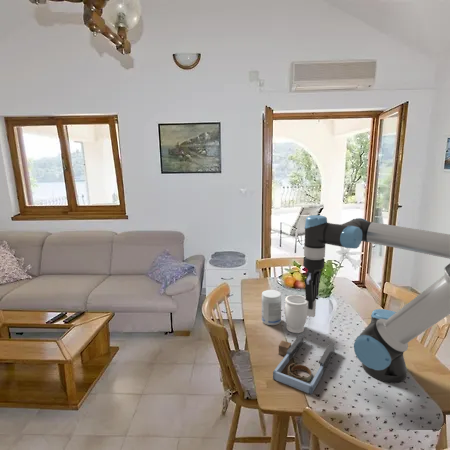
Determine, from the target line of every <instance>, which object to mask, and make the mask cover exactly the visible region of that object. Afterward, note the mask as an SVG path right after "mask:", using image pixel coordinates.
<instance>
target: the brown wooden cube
mask: <svg viewBox="0 0 450 450" xmlns="http://www.w3.org/2000/svg"><path fill="white" fill-rule="evenodd" d="M291 345H292V343H291V342H289V341H286V340H281V341H280V343H279V345H278V355H281V356H284V357H285V356H286V354H287V350H288V349H289V348H290V347H291Z"/></svg>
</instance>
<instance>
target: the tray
mask: <svg viewBox="0 0 450 450" xmlns="http://www.w3.org/2000/svg"><path fill="white" fill-rule="evenodd" d="M288 363H290V361H289V354H286V356H284V357H283V359H281V360H280V362H279V363H278V364H277V366H276V367H275V369H273V372H272V380H275V381H277V382H279V383H282V384H284V385H287V386H289V387H292V388H294V389H297V390H300V391H301V392H304V393H306V394H310V395H313V393H314V391H315V389H316V387H317V386H318V384H319V382H320V380H321V378H322V376H323V375H324V372H323V366H320V365H319V368H318V369H317V371H316V373H315V375H314V376H313V378H312V380H311V382H310V383H309V382H303V381H301V380H298V379H296V378H293V377H290V376H288V374H284V373H282V372H283V370H284V369H285V368H286V366H287V365H288Z"/></svg>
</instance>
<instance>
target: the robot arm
mask: <svg viewBox="0 0 450 450" xmlns="http://www.w3.org/2000/svg"><path fill="white" fill-rule="evenodd" d="M362 242H365V243H369V244H375V245H379V246H386V247H391V248H393V249H394V248H395V249H400V250H404V251H410V252H415V253H419V254H424V255H429V256H435V257H440V258H445V259H449V260H450V234H449V233H444V232H437V231H429V230H424V229H418V228H413V227H406V226H400V225H399V226H398V225H393V224H385V223H380V222H374V221H368V220H366V219H365V218H363V217H362V218H361V217H357V218H353V219H351V220H349V221H346V222H344V223H342V224H338V223H331V222H328V219H327V217H326V216H325V215H320V214H313V215H312V214H311V215H307V216H306V217H305V225H304V245H303V247H302V250H303V256H304V257H303V267H304V268H305V269H306V270H307V272H306V274H305V275H306V276H305V277H306V278H304V280H303V282H304V289H305V291H304V292H305V298H306V299H305V300H306V301H308V303H307V317H311V318H314V317H315V316H316V308H317V307H316V305H317V300H319V292H320V291H319V290H320V281H321V276H322V275H321V274H322V270H324V269H325V257H326V245H331V246H336V247H341V248H345V249H353V250H354V249H358V248H359V247H360V246H361V244H362ZM443 269H444V270H443V271H444V275H443V276H441V277H440V278H439V279H438V280H436V281H435V282H433V284H431V285H429V286H428V287H427V288H426V289H425V290H423V292H420V293H419V294H418V295H417V296H416V297H415V298H413V299H412V300H411V301H409V302H408V303H406V304H405V305H404V306H403V307H402V308H400V309H399V310H398V311H393V310H389V309H385V308H384V309H383V308H382V309H381V308H379V309H374V310H373V311H372V312H371V316H370V317H371V318H370V319H371V320H370V322H369V324H368V325H367V326H366V327H364V328H365V329H363V331H362V332H360V334H359V335H358V336H357V337H356V339H355V340H354V343H353V350H354V354H355V355H356V358H357V359H358V360H359V362H361V366H362V369H363V370H364V371H365V372H366V373H367V374H368V375H369V376H371V377H372V378H374V379H376V380H379V381H382V382H386V383H401V382H403V381H405V379H406V378H407V373H408V369H407V365H406V362H405V357H404V353H405V352H406V351H407V350H408V349H409V342H411V341H413V340H414V339H415V338H417V337H418V336H420V335H421V334H423V333H424V332H425V331H427V330H428V329H430V328H432V327H433V326H435V325H436V324H438V323H439V322H440V321H442V320H444V318H446V317H448V316H449V315H450V263H449V264H447V265H446V266H444V268H443Z"/></svg>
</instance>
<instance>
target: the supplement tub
mask: <svg viewBox="0 0 450 450" xmlns="http://www.w3.org/2000/svg"><path fill="white" fill-rule="evenodd" d="M261 321H262V323H263V324H265V325H267V326H277V325H280V323H281V321H282V292H280V291H278V290H275V289H267V290H263V291H262V292H261Z"/></svg>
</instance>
